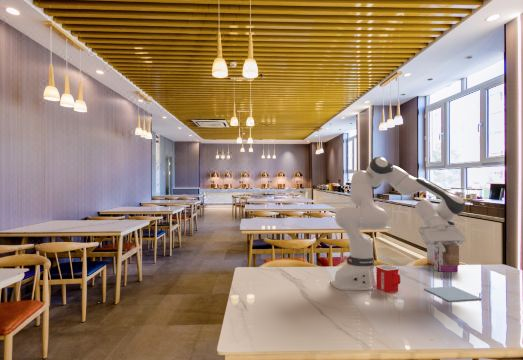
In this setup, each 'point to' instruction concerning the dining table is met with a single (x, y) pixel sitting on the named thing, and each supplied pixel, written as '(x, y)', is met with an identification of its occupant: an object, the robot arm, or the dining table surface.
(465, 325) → the dining table surface
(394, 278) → the mug
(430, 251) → the cracker box
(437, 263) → the candy bar box
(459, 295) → the rubber mat
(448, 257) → the walnut block
